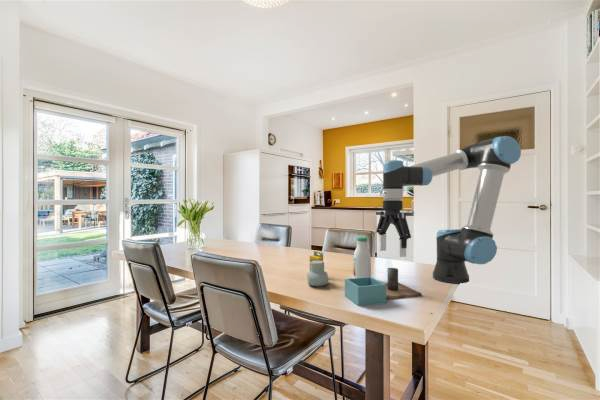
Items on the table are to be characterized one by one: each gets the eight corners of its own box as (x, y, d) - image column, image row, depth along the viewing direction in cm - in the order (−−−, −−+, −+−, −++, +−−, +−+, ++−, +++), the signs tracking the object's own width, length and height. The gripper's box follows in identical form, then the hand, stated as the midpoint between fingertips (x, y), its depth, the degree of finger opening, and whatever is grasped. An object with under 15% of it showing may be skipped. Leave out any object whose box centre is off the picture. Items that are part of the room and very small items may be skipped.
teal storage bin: (370, 294, 117) (370, 276, 117) (386, 304, 107) (386, 284, 107) (344, 297, 114) (344, 278, 114) (358, 307, 104) (358, 287, 104)
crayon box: (309, 275, 147) (309, 251, 146) (314, 274, 148) (314, 251, 148) (318, 278, 141) (318, 253, 140) (323, 277, 142) (323, 253, 142)
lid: (398, 284, 129) (398, 263, 129) (421, 295, 114) (421, 272, 114) (366, 287, 125) (366, 266, 125) (386, 299, 110) (386, 275, 110)
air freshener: (328, 288, 126) (328, 264, 126) (309, 288, 125) (309, 264, 125) (325, 281, 137) (324, 259, 136) (306, 281, 136) (306, 259, 136)
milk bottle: (374, 281, 136) (374, 237, 136) (365, 285, 130) (365, 238, 130) (359, 278, 141) (359, 235, 141) (350, 281, 135) (350, 237, 135)
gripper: (368, 199, 130) (368, 248, 130) (403, 200, 106) (402, 260, 106) (383, 199, 132) (383, 248, 132) (421, 200, 108) (420, 259, 108)
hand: (392, 253), depth 119 cm, fingers open, 13 cm apart
